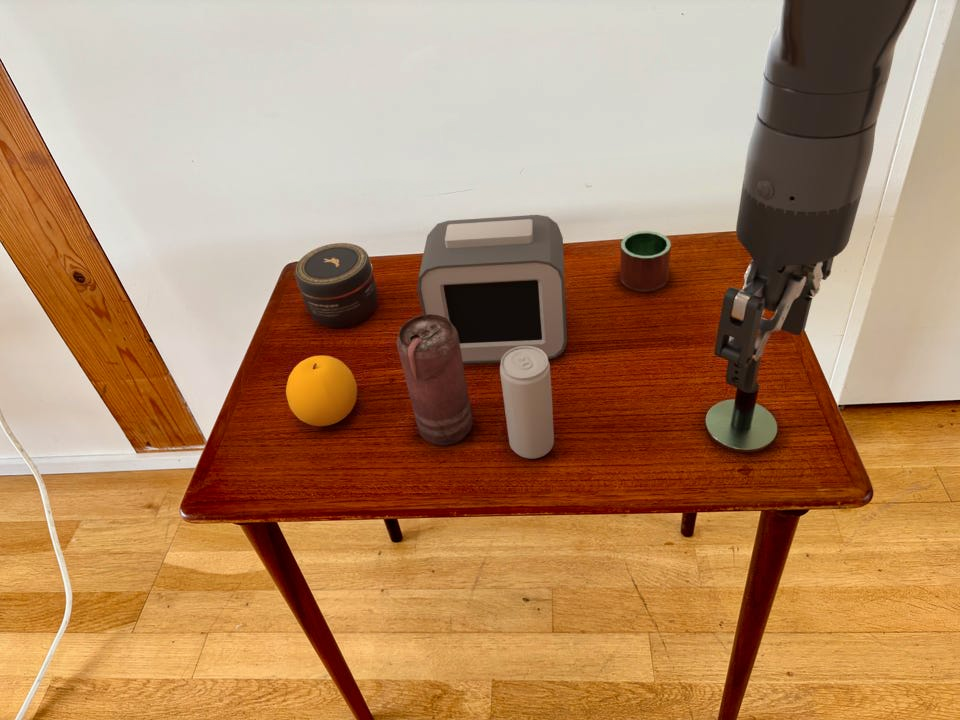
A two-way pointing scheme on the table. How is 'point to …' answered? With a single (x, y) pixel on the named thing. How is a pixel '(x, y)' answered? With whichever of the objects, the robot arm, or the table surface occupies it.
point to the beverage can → (528, 401)
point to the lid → (741, 423)
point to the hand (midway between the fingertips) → (765, 356)
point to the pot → (645, 261)
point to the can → (435, 378)
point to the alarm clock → (497, 284)
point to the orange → (321, 390)
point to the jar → (337, 284)
